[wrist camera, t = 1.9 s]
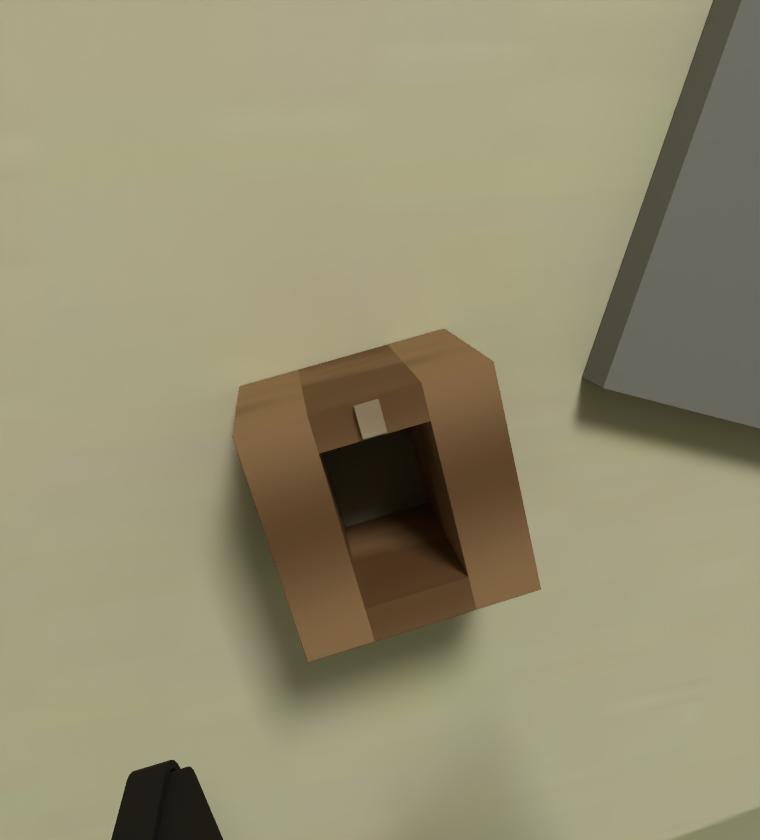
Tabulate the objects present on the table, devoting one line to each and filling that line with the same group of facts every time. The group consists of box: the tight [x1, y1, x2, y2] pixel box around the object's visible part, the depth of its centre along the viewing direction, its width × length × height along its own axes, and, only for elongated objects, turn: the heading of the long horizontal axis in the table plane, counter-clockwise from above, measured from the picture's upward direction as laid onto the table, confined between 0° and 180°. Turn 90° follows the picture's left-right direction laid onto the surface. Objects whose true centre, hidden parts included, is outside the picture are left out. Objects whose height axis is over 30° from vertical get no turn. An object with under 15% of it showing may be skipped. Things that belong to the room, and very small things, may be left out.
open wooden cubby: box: [232, 329, 541, 662], centre depth 20 cm, size 6×6×5 cm
